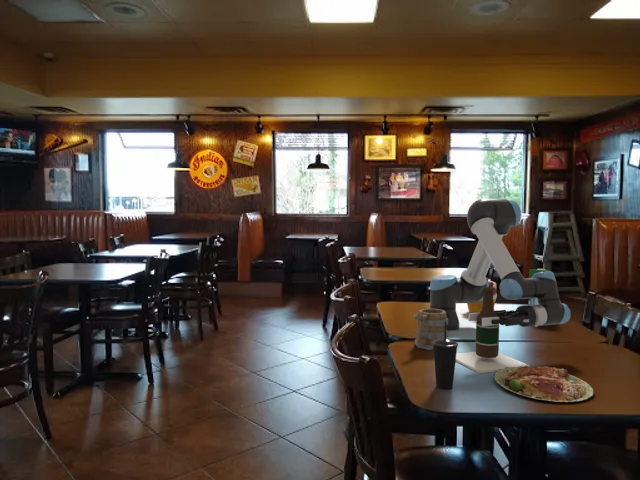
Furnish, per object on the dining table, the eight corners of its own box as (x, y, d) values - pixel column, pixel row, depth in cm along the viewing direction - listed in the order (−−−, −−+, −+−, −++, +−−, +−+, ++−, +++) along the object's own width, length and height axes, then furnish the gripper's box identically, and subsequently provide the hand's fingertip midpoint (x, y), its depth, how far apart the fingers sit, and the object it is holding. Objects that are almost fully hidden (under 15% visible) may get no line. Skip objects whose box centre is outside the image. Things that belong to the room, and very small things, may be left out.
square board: (446, 356, 186) (446, 354, 186) (493, 352, 192) (493, 350, 192) (479, 373, 167) (479, 371, 167) (529, 368, 173) (529, 365, 173)
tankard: (427, 340, 209) (428, 304, 208) (454, 346, 200) (455, 308, 199) (398, 349, 195) (398, 310, 194) (425, 356, 186) (426, 315, 185)
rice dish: (608, 412, 139) (609, 393, 138) (502, 400, 143) (503, 382, 143) (575, 378, 166) (576, 362, 166) (487, 370, 171) (488, 354, 170)
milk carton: (550, 318, 254) (552, 268, 252) (547, 321, 246) (549, 270, 245) (531, 315, 259) (532, 267, 257) (527, 319, 251) (529, 268, 250)
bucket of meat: (460, 308, 276) (461, 272, 275) (491, 309, 275) (492, 273, 274) (468, 316, 256) (469, 277, 255) (502, 317, 255) (503, 278, 254)
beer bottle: (500, 359, 174) (501, 290, 173) (476, 357, 176) (478, 289, 175) (496, 352, 182) (498, 286, 181) (474, 351, 184) (475, 285, 182)
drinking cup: (428, 383, 157) (429, 319, 156) (452, 382, 158) (453, 319, 157) (435, 391, 150) (437, 324, 148) (461, 391, 150) (462, 324, 149)
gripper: (550, 332, 174) (493, 337, 167) (511, 320, 193) (459, 324, 187) (550, 310, 174) (493, 314, 167) (512, 300, 193) (459, 303, 186)
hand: (475, 319), depth 177 cm, fingers closed on beer bottle, 7 cm apart
